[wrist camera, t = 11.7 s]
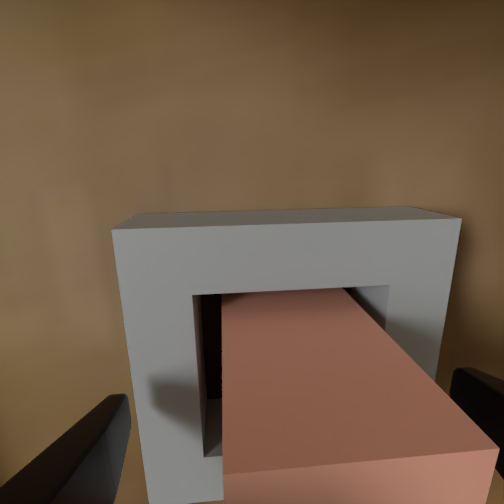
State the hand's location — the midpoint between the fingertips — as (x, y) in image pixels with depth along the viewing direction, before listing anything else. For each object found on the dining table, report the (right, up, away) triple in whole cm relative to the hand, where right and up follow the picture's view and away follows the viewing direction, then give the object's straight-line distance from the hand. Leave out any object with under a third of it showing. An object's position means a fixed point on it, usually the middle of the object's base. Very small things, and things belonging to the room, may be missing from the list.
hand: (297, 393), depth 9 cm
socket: (0, +1, +3) cm, 3 cm away
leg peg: (0, +1, +3) cm, 3 cm away
